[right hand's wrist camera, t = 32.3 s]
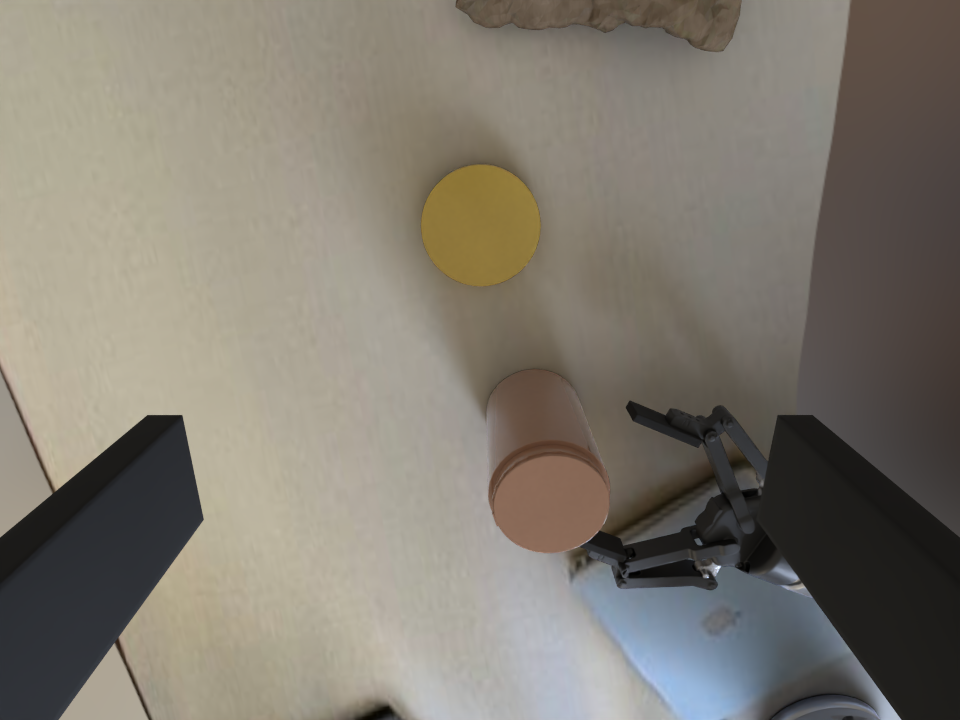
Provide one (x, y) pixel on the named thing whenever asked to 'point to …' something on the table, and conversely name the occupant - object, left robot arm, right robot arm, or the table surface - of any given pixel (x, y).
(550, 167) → the table surface
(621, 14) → the stone
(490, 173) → the lid
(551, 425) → the jar
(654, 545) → the left robot arm
